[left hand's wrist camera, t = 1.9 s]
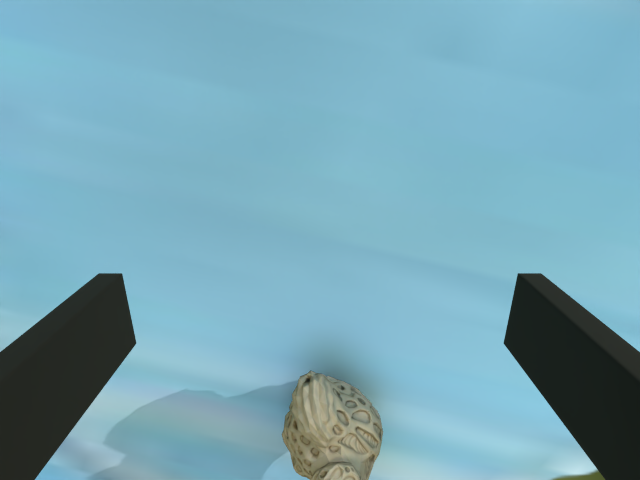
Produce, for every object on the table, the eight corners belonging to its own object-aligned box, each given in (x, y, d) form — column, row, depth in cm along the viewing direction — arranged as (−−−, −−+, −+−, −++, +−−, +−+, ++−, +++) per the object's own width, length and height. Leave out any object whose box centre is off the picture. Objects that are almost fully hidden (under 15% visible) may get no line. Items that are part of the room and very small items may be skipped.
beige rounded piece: (268, 344, 46) (245, 452, 32) (360, 326, 46) (378, 428, 32) (309, 467, 54) (305, 598, 40) (389, 453, 53) (414, 583, 39)
